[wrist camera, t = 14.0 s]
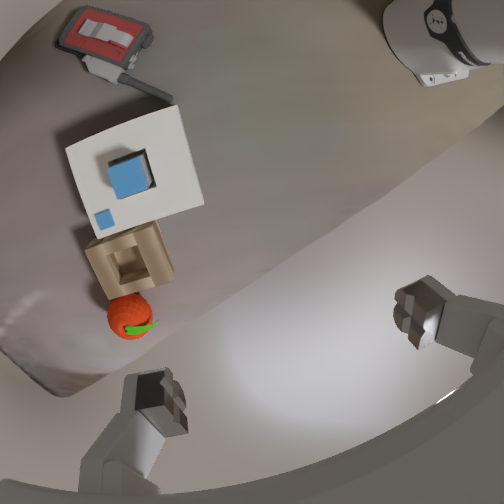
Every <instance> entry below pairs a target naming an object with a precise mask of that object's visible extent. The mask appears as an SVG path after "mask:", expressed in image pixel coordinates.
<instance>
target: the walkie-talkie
mask: <svg viewBox="0 0 504 504" xmlns="http://www.w3.org/2000/svg"><path fill="white" fill-rule="evenodd" d="M153 38H154V36H153V35H152V30H151V28H150V26H149V24H146V23H144V22H140V21H138V20H135V19H133V18H130V17H126V16H123V15H119V14H116V13H113V12H109V11H106V10H103V9H100V8H96V7H95V8H94V7H93V6H92V7H91V6H88V5H86V6H83V7H80V8H79V9H78V10H77V11H76V13H75V14H74V16H73V17H72V19H71V20H70V22H69V23H68V25H67V26H66V28H65V29H64V31H63V33H62V34H61V36H60V38H59V39H58V40H57V41H56V42H55V47H56V48H58V49H60V50H63V51H67V52H70V53H73V54H75V55H78V56H79V57H80V58H81V59H82V61H83V62H86V65H87V67H88V70H89V72H90V73H92V74H94V75H96V76H99V77H101V78H104V79H106V80H108V81H109V82H111V83H113V84H117V83H118V82H120V83H122V84H127V85H130V86H132V87H134V88H137V89H139V90H141V91H143V92H146V93H148V94H150V95H152V96H154V97H157V98H159V99H161V100H163V101H165V102H167V103H170V102H172V100H173V97H172V96H171V95H169V94H167V93H165V92H163V91H161V90H159V89H156V88H154V87H152V86H150V85H147V84H145V83H143V82H141V81H138V80H136V79H134V78H131V77H130V76H129V75H127V74H125V73H124V71H125V70H128V69H133V68H134V67H135V64H134V62H135V61H136V59H137V55H138V54H139V52H140V51H141V49H142V48H144V49H146V48H148V47H149V46H150V44H151V43H152V41H153ZM59 43H60V46H62V47H60V46H59V45H58V44H59ZM82 54H83V55H86V56H84V57H83V55H82Z"/></svg>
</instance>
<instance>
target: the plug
mask: <svg viewBox="0 0 504 504" xmlns="http://www.w3.org/2000/svg"><path fill="white" fill-rule="evenodd" d="M107 171H108V174H109V177H110V180H111V183H112V186H113V189H114V192H115V195H116V198H117V200H118V199H121V198H124V197H126V196H129V195H132V194H135V193H138V192H140V191H143V190H146V189H148V187H149V186H150V184H151V183H152V181H153V180H154V176H153V173H152V169H151V166H150V163H149V160H148V156H147V153H146V152H145V153H142V154H139V155H136V156H134V157H131V158H128V159H125V160H123V161H121V162H119V163H117V164H115V165H113V166H111V167H110V168H108V169H107Z"/></svg>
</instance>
